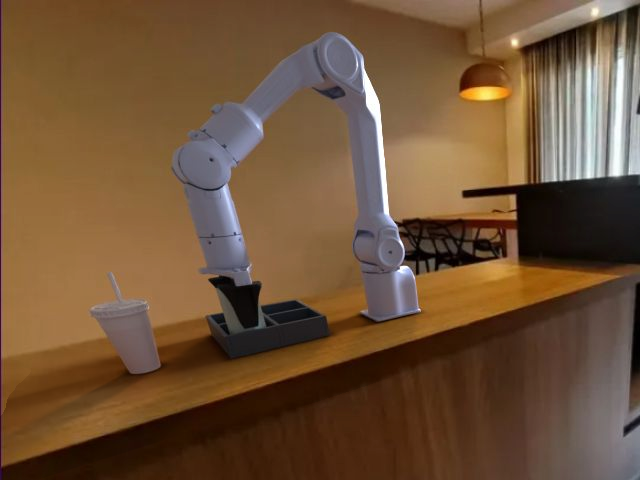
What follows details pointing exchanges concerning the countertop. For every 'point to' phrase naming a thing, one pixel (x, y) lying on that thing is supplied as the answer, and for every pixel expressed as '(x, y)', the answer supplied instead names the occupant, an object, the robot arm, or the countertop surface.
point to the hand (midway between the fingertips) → (246, 323)
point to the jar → (231, 316)
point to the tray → (271, 329)
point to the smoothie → (129, 330)
